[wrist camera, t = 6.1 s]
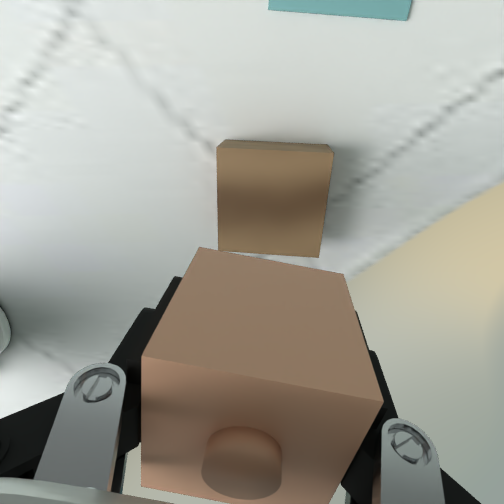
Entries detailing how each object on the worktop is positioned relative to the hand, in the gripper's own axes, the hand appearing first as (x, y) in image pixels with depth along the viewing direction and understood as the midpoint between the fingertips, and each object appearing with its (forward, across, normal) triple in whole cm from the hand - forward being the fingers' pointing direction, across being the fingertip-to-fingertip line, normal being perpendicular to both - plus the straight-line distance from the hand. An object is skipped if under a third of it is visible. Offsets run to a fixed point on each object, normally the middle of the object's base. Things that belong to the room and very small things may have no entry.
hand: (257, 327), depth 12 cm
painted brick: (+1, 0, 0) cm, 1 cm away
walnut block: (+18, 0, 0) cm, 18 cm away
